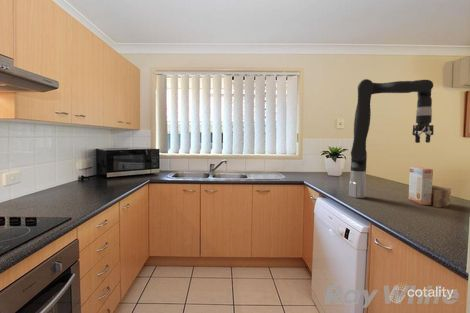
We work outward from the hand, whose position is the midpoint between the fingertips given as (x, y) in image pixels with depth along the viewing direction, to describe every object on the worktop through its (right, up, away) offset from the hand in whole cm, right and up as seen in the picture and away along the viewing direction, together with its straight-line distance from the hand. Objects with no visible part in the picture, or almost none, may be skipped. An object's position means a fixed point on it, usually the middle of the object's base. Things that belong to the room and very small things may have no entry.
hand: (422, 142), depth 162 cm
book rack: (+3, -36, +2) cm, 36 cm away
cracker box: (0, -36, +3) cm, 36 cm away
